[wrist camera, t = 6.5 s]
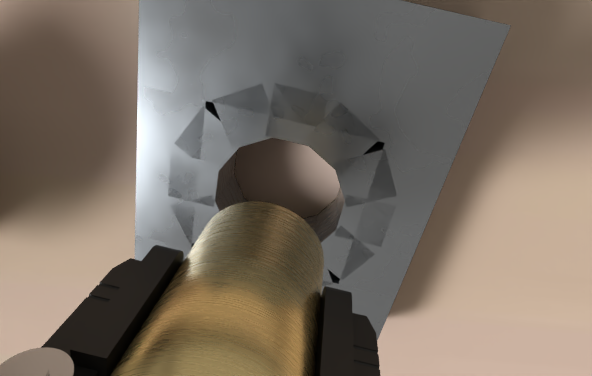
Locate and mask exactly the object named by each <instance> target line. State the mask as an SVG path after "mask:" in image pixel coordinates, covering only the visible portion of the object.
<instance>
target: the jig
mask: <svg viewBox="0 0 592 376" xmlns="http://www.w3.org/2000/svg"><path fill="white" fill-rule="evenodd" d="M510 26H511V25H507V24H502V23H498V22H493V21H489V20H485V19H480V18H476V17H472V16H467V15H463V14H459V13H454V12H450V11H445V10H441V9H437V8H432V7H428V6H424V5H419V4H415V3H411V2H406V1H402V0H139V43H138V101H137V160H136V218H135V260H139V261H142V260H143V258H144V257H145V256H146V255H147V253H148V252H149V251H150V250H151V249H152V247H153V246H155V245H160V246H164V247H168V248H172V249H176V250H180V251H183V253H184V260H185V258H186V256H187V255H188V253H189V252H190V250H191V249H192V247H193V246H194V244H195V242H196V241H197V239H198V238H199V236H200V235H201V233H202V232H203V230H204V228H205V227H206V225H207V224H208V222H209V221H210V220H211V219H212V218H213V217H214V216H215V215H216V214H217V213H219V212H220V211H222V210H223V209H225V208H227V207H229V206H232V205H235V204H238V203H243V202H249V201H248V200H246V199H245V198H244V196H243V194H242V192H241V189H240V187H239V184H238V182H237V180H236V177H235V175H234V167H235V160H236V153H237V150H238V148H239V147H242V146H246V145H249V144H253V143H256V142H259V141H263V140H266V139H270V138H277V139H281V140H285V141H290V142H294V143H298V144H302V145H307V146H309V147H310V148H312V149H313V150H314V151H315V152H316V153H317V154H318V155H319V156H320V157H322V158H323V159H324V160H325V161H326V162H327V163H328V164H329V165H330V166H332V167H333V168H334V169H335V170H336V174H337V177H338V180H339V183H340V190H339V193H338V197H337V198H336V199H335V200H334V201H333V202H332V203H331V204H329V205H328V206H327V207H326V208H325V209H324V210H323V211H322V212H321V213H319V214H318V215H316V216H312V217H307V218H303V219H304V220H305V221H306V222H307V223H308V224H309V225H310V226H311V228H312V229H313V230H314V231H315V233H316V235H317V236H318V238H319V240H320V243H321V245H322V249H323V254H324V268H323V280H322V292H323V289H324V287H325V286H327V287H332V288H336V289H340V290H344V291H348V292H351V293H352V313H356V314H360V315H364V316H367V317H368V319H369V321H370V323H371V325H372V326H373V328H374V330H375V332H376V336H377V340H378V337H379V335H380V333H381V330H382V328H383V326H384V323H385V321H386V319H387V316H388V314H389V311H390V309H391V307H392V304H393V302H394V300H395V297H396V295H397V293H398V290H399V288H400V286H401V283H402V281H403V279H404V276H405V274H406V271H407V269H408V267H409V264H410V262H411V260H412V257H413V255H414V253H415V250H416V248H417V246H418V243H419V241H420V238H421V236H422V234H423V231H424V229H425V227H426V224H427V222H428V220H429V217H430V215H431V213H432V210H433V208H434V205H435V203H436V201H437V198H438V196H439V194H440V191H441V189H442V187H443V184H444V182H445V180H446V177H447V175H448V172H449V170H450V168H451V165H452V163H453V161H454V158H455V156H456V154H457V151H458V149H459V147H460V144H461V142H462V139H463V137H464V135H465V132H466V130H467V128H468V125H469V123H470V121H471V118H472V116H473V114H474V111H475V109H476V106H477V104H478V102H479V99H480V97H481V95H482V92H483V90H484V88H485V85H486V83H487V81H488V78H489V76H490V74H491V71H492V69H493V66H494V64H495V62H496V59H497V57H498V55H499V52H500V50H501V48H502V45H503V43H504V41H505V38H506V36H507V33H508V31H509V29H510ZM184 260H183V261H184ZM321 295H322V293H321Z"/></svg>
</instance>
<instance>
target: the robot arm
mask: <svg viewBox="0 0 592 376" xmlns="http://www.w3.org/2000/svg"><path fill="white" fill-rule="evenodd" d="M183 260H184V253H183V251H180V250H176V249H172V248H168V247H164V246H160V245H155V246H153V247H152V249H151V250H150V251H149V252H148V253H147V255H146V256H145V257H144V258H143V260H142V261H139V260H135V259H131V258H130V259H129V260H127V261H125V262H123V263H121V264H120V265H118V266H116V267H114V268H112V270H111V271H110V272H109V273H108V274H107V275H106V276H105V277H104V278H103V280H102V281H101V282H100V284H99V286H98V285H97V286H96V287H95V288H94V290H93V291H92V292H91V293H90V294H89V297H88V298H87V297H86V299H85V300H84V301H83V302H82V303H81V304H80V305H79V306H78V307H77V309H76V310H75V311H74V312H73V313H72V314H71V315H70V316H69V317H68V319H67V320H66V321H65V322H64V323H63V324H62V325H61V326H60V327H59V329H58V330H57V331H56V332H55V333H54V334H53V335H52V336H51V337H50V339H49V340H48V341H47V342H46V343H45V344H44V345H43V346H42V347H41V348H36V349H31V350H27V351H24V352H22V353H19V354H17V355H15V356H13V357H11V358H9V359H8V360H6V361H5V362H3V363H2V364H1V365H0V376H110V375H111V373H112V372H113V370H114V369H115V367H116V365H117V364H118V362H119V361H120V359H121V358H122V356H123V355H124V353H125V351H126V350H127V348H128V347H129V345H130V344H131V342H132V341H133V339H134V337H135V336H136V334H137V333H138V331H139V330H140V328H141V327H142V325H143V323H144V322H145V320H146V319H147V317H148V316H149V314H150V313H151V311H152V309H153V308H154V306H155V305H156V303H157V302H158V300H159V299H160V297H161V295H162V294H163V292H164V291H165V289H166V288H167V286H168V284H169V283H170V281H171V280H172V278H173V277H174V275H175V274H176V272H177V270H178V269H179V267H180V266H181V264H182V263H183ZM377 353H378V347H377V336H376V332H375V330H374V328H373V326H372V325H371V323H370V321H369V319H368V317H367V316H364V315H360V314H356V313H352V293H351V292H348V291H344V290H340V289H336V288H332V287H327V286H325V287H324V289H323V292H322V295H321V303H320V315H319V327H318V340H317V352H316V364H315V376H380V370H379V357H378V354H377Z"/></svg>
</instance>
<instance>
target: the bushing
mask: <svg viewBox="0 0 592 376" xmlns="http://www.w3.org/2000/svg"><path fill="white" fill-rule="evenodd" d="M323 268H324V254H323V249H322V245H321V243H320V240H319V238H318V236H317V235H316V233H315V231H314V230H313V229H312V228H311V226H310V225H309V224H308V223H307V222H306V221H305V220H304V219H303V218H301V217H300V216H299V215H297V214H296V213H294V212H292V211H290V210H289V209H286V208H284V207H282V206H279V205H276V204H272V203H267V202H257V201H253V202H243V203H238V204H235V205H232V206H229V207H227V208H225V209H223V210H222V211H220V212H219V213H217V214H216V215H215V216H214V217H213V218H212V219H211V220H210V221H209V222H208V224H207V225H206V227H205V228H204V230H203V232H202V233H201V235H200V236H199V238H198V239H197V241H196V242H195V244H194V246H193V247H192V249H191V250H190V252H189V253H188V255H187V256H186V258H185V260H184V261H183V263H182V264H181V266H180V267H179V269H178V270H177V272H176V274H175V275H174V277H173V278H172V280H171V281H170V283H169V284H168V286H167V288H166V289H165V291H164V292H163V294H162V295H161V297H160V299H159V300H158V302H157V303H156V305H155V306H154V308H153V309H152V311H151V313H150V314H149V316H148V317H147V319H146V320H145V322H144V323H143V325H142V327H141V328H140V330H139V331H138V333H137V334H136V336H135V337H134V339H133V341H132V342H131V344H130V345H129V347H128V348H127V350H126V351H125V353H124V355H123V356H122V358H121V359H120V361H119V362H118V364H117V365H116V367H115V369H114V370H113V372H112V373H111V375H110V376H315V364H316V352H317V340H318V327H319V315H320V303H321V293H322V280H323Z"/></svg>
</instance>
